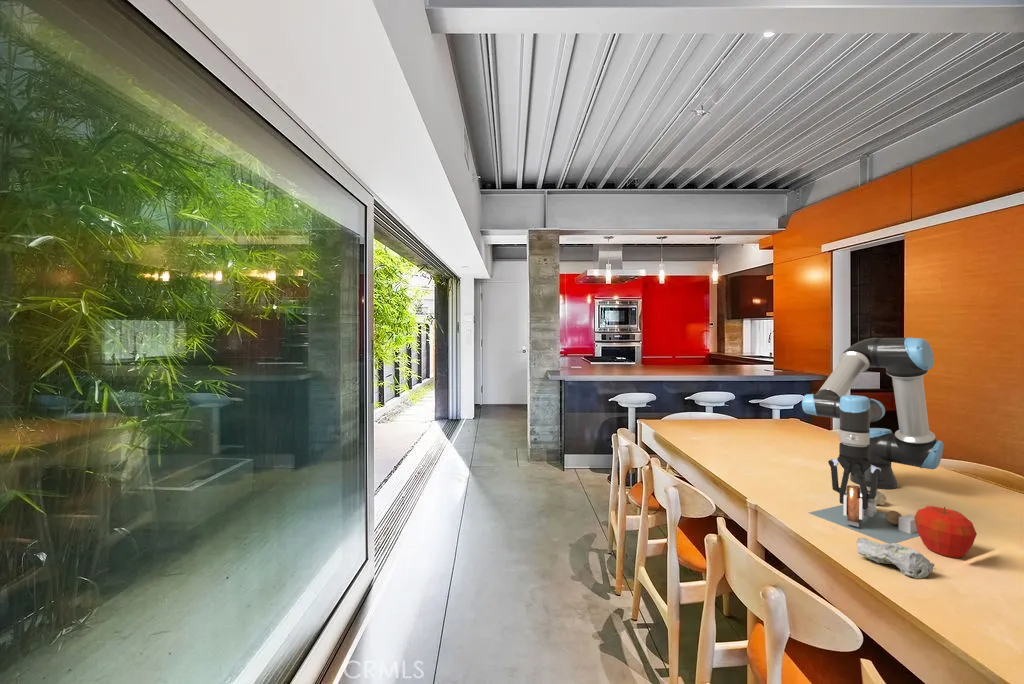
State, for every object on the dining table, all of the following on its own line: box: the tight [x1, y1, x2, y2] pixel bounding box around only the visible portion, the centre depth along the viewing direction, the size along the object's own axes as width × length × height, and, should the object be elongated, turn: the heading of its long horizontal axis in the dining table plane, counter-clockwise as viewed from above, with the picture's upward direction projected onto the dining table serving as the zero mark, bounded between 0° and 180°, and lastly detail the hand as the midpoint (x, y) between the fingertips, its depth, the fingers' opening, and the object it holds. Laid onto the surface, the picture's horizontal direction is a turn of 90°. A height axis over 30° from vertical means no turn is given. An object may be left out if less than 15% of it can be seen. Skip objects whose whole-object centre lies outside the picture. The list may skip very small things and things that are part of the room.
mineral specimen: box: [856, 537, 935, 580], centre depth 113 cm, size 16×7×7 cm, turn 43°
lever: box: [846, 484, 877, 527], centre depth 140 cm, size 21×6×12 cm, turn 130°
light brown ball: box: [885, 510, 903, 525], centre depth 136 cm, size 4×4×4 cm
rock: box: [845, 484, 887, 507], centre depth 156 cm, size 7×11×10 cm
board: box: [808, 504, 920, 544], centre depth 139 cm, size 24×24×5 cm
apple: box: [914, 505, 978, 559], centre depth 119 cm, size 12×12×14 cm
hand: (853, 516), depth 135 cm, fingers closed on lever, 3 cm apart
